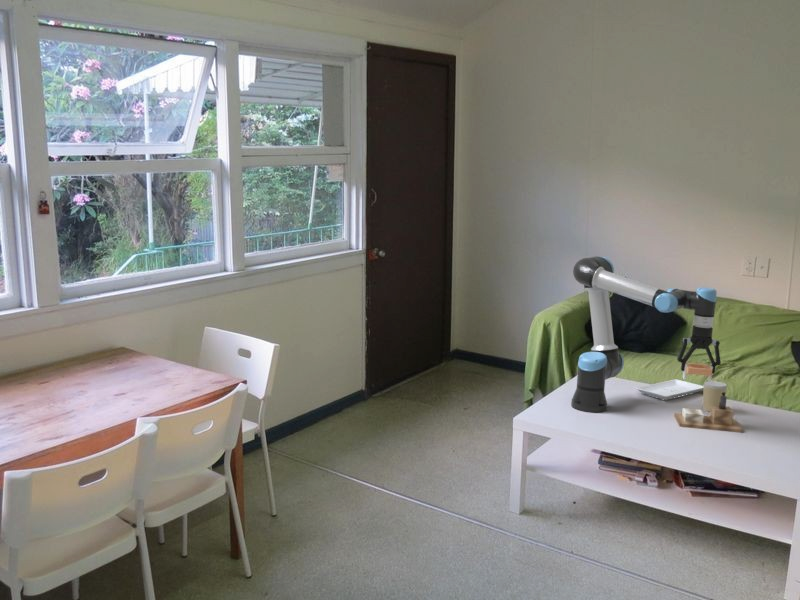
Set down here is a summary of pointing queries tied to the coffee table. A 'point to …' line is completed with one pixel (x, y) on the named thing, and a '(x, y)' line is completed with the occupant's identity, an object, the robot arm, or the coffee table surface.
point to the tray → (670, 385)
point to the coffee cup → (712, 393)
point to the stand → (710, 418)
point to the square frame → (699, 369)
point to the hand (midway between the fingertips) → (696, 379)
